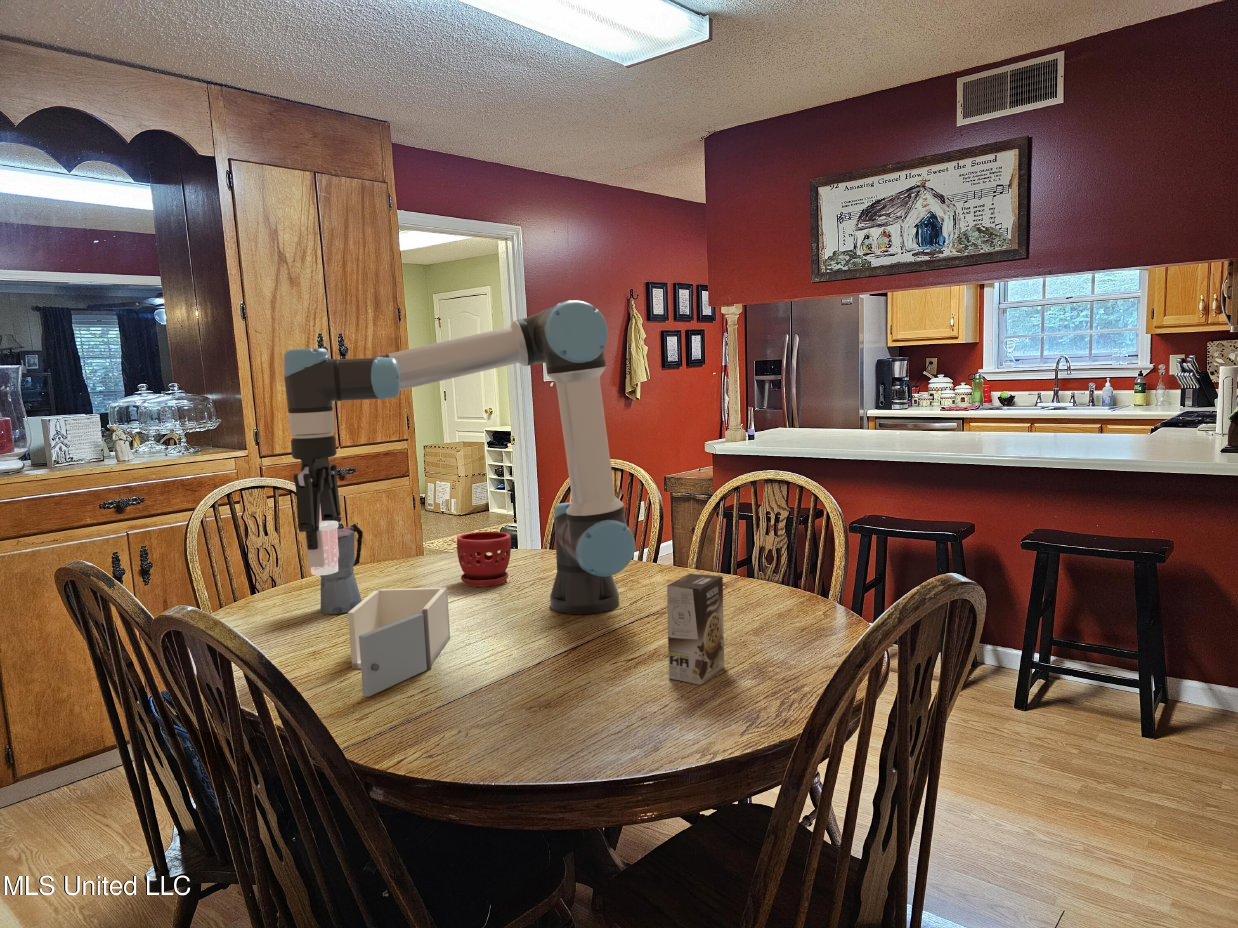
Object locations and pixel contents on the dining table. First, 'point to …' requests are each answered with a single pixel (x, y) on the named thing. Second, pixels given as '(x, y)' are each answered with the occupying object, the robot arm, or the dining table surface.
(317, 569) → the beverage cup
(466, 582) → the plant pot
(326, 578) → the moka pot
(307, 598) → the dining table surface
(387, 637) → the door
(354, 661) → the cubby
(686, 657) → the coffee box
